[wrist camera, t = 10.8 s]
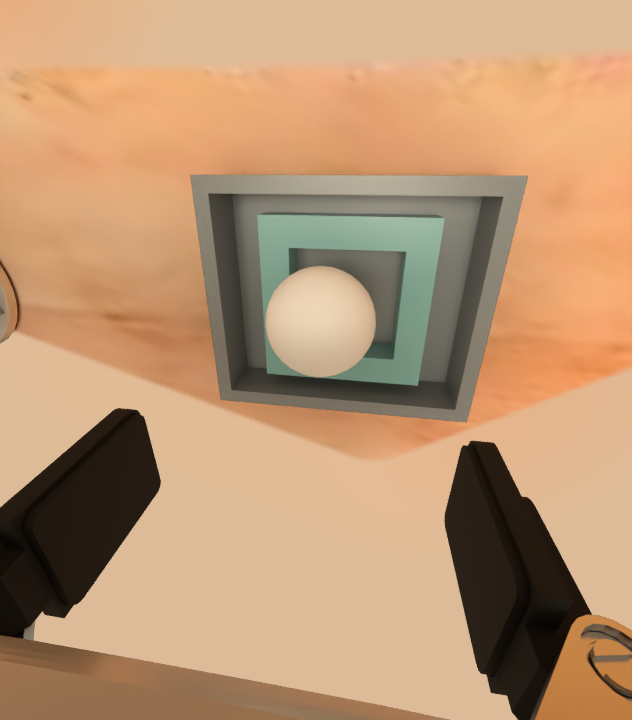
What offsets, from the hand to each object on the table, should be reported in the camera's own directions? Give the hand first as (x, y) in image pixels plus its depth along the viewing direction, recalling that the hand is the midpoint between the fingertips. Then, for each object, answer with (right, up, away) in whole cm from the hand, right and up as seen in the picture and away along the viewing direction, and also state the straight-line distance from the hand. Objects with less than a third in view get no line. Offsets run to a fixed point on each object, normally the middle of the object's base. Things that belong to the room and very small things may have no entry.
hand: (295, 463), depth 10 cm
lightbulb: (+2, +8, +16) cm, 19 cm away
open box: (+3, +8, +17) cm, 20 cm away
